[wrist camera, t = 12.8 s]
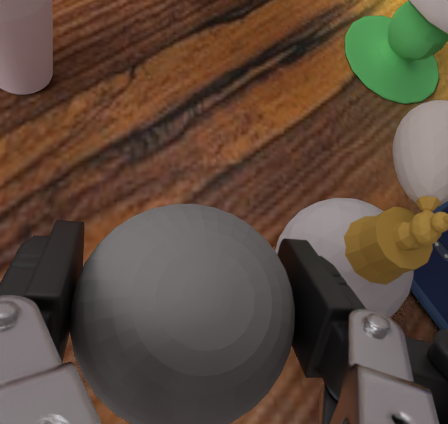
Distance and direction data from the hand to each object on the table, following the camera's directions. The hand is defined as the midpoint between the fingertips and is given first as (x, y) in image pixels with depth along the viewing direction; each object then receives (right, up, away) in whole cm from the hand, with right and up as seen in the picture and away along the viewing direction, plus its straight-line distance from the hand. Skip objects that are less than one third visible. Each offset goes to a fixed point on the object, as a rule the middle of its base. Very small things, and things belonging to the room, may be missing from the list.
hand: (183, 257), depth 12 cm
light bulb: (-2, -4, +5) cm, 7 cm away
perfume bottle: (+7, -2, +14) cm, 16 cm away
